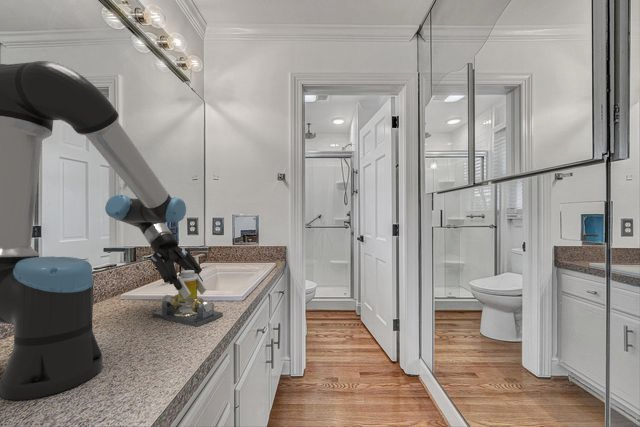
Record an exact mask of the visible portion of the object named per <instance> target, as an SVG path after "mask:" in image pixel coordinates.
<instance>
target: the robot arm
mask: <svg viewBox="0 0 640 427" xmlns="http://www.w3.org/2000/svg"><path fill="white" fill-rule="evenodd" d="M119 118H120V115H119V113H118V111H117V110H116V108H115V106H114V105H113V104H112V103H111V102H110V100H109V99H108V98H107V96H106V95H104V94H103V92H102V91H101V90H100V89H99V88H97V87H96V85H94V84H93V83H92V82H90V80H89V79H87V78H86V77H85V76H83V75H82V74H80V73H78V72H77V71H76V70H73V69H72V68H70V67H68V66H65V65H63V64H60V63H58V62H57V63H56V62H53V61H50V60H49V61H48V60H39V61H31V62H20V63H19V62H18V63H11V64H8V63H0V324H6V325H7V324H9V325H12V324H13V336H14V337H13V347H12V351H11V353H10V356H9V358H8V360H7V363H6V366H5V367H4V370H3V373H2V375H1V377H0V397H2V398H4V399H6V400H12V401H13V400H14V401H15V400H16V401H18V400H20V401H21V400H30V399H31V400H32V399H37V398H43V397H47V396H51V395H55V394H58V393H60V392H61V393H62V392H64V391H67V390H70V389H72V388H74V387H76V386H79V385H81V384H83V383H85V382H87V381H89V380H90V379H92V378H94V377H95V376H96V375H97V374H98V373H99V372H100V371H102V369H103V364H104V362H103V353H102V350H101V348H100V346H99V344H98V341H97V339H96V336H95V334H94V332H93V317H94V316H93V314H94V312H93V309H94V282H95V281H94V280H95V279H94V277H93V267H92V265H91V263H90V262H89V261H87V260H86V259H82V258H77V257H73V256H72V257H71V256H53V255H52V256H40V253H39V252H38V251H37V250H35V249H34V248H33V247H32V240H33V230H34V228H33V227H34V219H35V212H36V211H35V209H36V202H37V192H38V190H37V189H38V182H39V173H40V163H41V162H40V161H41V157H42V156H41V152H42V144H43V141H44V140H45V139H48V138H49V137H51V136H52V135H53V126H54V121H62V122H65V123H67V124H68V125H69V126H70V127H71V128H72V129H73V130H74V131H75V133H76V134H78V135H81V136H85V137H87V139H88V140H89V142H90V143H91V144H92V145H93V147H95V149H96V150H97V151H98V153H99V154H100V155H101V156H102V157H103V158H104V160H105V161H106V162H107V163H108V164H109V166H110V167H111V168H112V169H113V171H114V172H115V173H116V174H117V175H118V177H119V178H120V179H121V180H122V181H123V183H125V185H126V186H127V188H128V189H130V191H131V192H132V193H133V195H134V196H135V197H136V198H131V197H129V196H128V195H124V194H120V193H119V194H114V195H112V196H111V197H110V198H109V199H107V201H106V204H105V208H104V210H105V213H106V214H107V215H108V216H109V217H111V218H112V219H114V220H116V221H119V222H122V223H126V224H127V225H131V226H133V227H136V228H137V229H139V230H140V231H141V233H142V234H143V236H144V238H145V239H146V241H147V242H148V244H149V246H150V248H151V249H152V251H153V252H154V253H152V255H151V257H150V259H149V260H150V262H151V263H153V264H154V265H155V267H156V269H157V271H158V273H159V275H160V276H161V278H162V281H163V282H164V283H168V284H169V285H173V286H174V288H175V289H176V290H177V291H178V290H179V291H180V293H181V295H182V296H183V298H184V299H187V298H188V297H189V295H190V294H191V293H190V291H189V289H188V288H187V286H186V285H185V283H184V282H183V280H182V278H181V276H178V273H177V270H176V266H175V264H176V265H178V266H180V267H181V268H182V269H183V271H185V270H194V272H195V274H194V276H196V277H197V292H199V294H200V295H202V296H203V294H204V293H206V291H207V290H208V288H207V287H206V285H205V283H204V280H203V278H202V277H201V275H200V273H201V272H202V271H203V269H202V268H201V266H200V265H199V263H198V262H197V260H196V259H195V258H194V256H193V255H192V254H191V251H190V249H189V248H186V250H182V248H180V247H179V245H178V240H177V239H176V237H175V236H174V234H173V233H172V231H171V230H170V229H169V227H168V226H167V224H166V223H169V224H170V223H179V222H181V221H183V220H184V218H185V216H186V213H187V205H186V204H185V202H184V200H183V199H181V198H178V197H171V196H170V194H169V192H168V191H167V189H166V188H165V187H164V185H163V184H162V182H161V181H160V180H159V178H158V177H157V176H156V174H155V172H154V171H153V169H152V168H151V167H150V165H149V164H148V163H147V161H146V160H145V158H144V157H143V155H142V154H141V152H140V151H139V149H138V148H137V146H135V144H134V142H133V140H132V139H131V138H130V137H129V135H128V134H127V132H126V131H125V130H124V128H123V126H122V125H121V123H120V122H119Z"/></svg>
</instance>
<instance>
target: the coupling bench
mask: <svg viewBox="0 0 640 427" xmlns="http://www.w3.org/2000/svg"><path fill="white" fill-rule="evenodd" d="M223 314H224V313H223V312H222V311H216V310H215V303H214V302H212V301H207V300H204V299H203V298H202V297H197V298H196V299H194V301H193V302H192V304H191V306H190V305H180V304H179V303H178V294H175V295H171V294H165V295H164V296H163V297H162V301H161V309H160V310H157V311H154V312H152V315H151V317H153V318H156V319H160V320H165V321H171V322H175V323H179V324H183V325H188V326H193V327H196V328H198V327H200V326H202V325H205V324H207V323H210V322H213V321H215V320H217V319H220V318H222V317H223V316H224V315H223Z"/></svg>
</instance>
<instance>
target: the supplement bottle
mask: <svg viewBox="0 0 640 427" xmlns="http://www.w3.org/2000/svg"><path fill="white" fill-rule="evenodd" d="M194 274H195V272H194V270H181V271H180V277H181V278H182V280H183V282H184V283H185V285H186V286H187V288H188V289H189V291H190V293H191V294H190V295H189V297H188V298H187V299H184V298H183V296H182V295H181V293H180V291H179V290H177V293H178V303H179V304H180V305H184V306H190V305H192V302H193V301H194V299H196V298H198V289H197V277H196V276H194Z"/></svg>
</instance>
